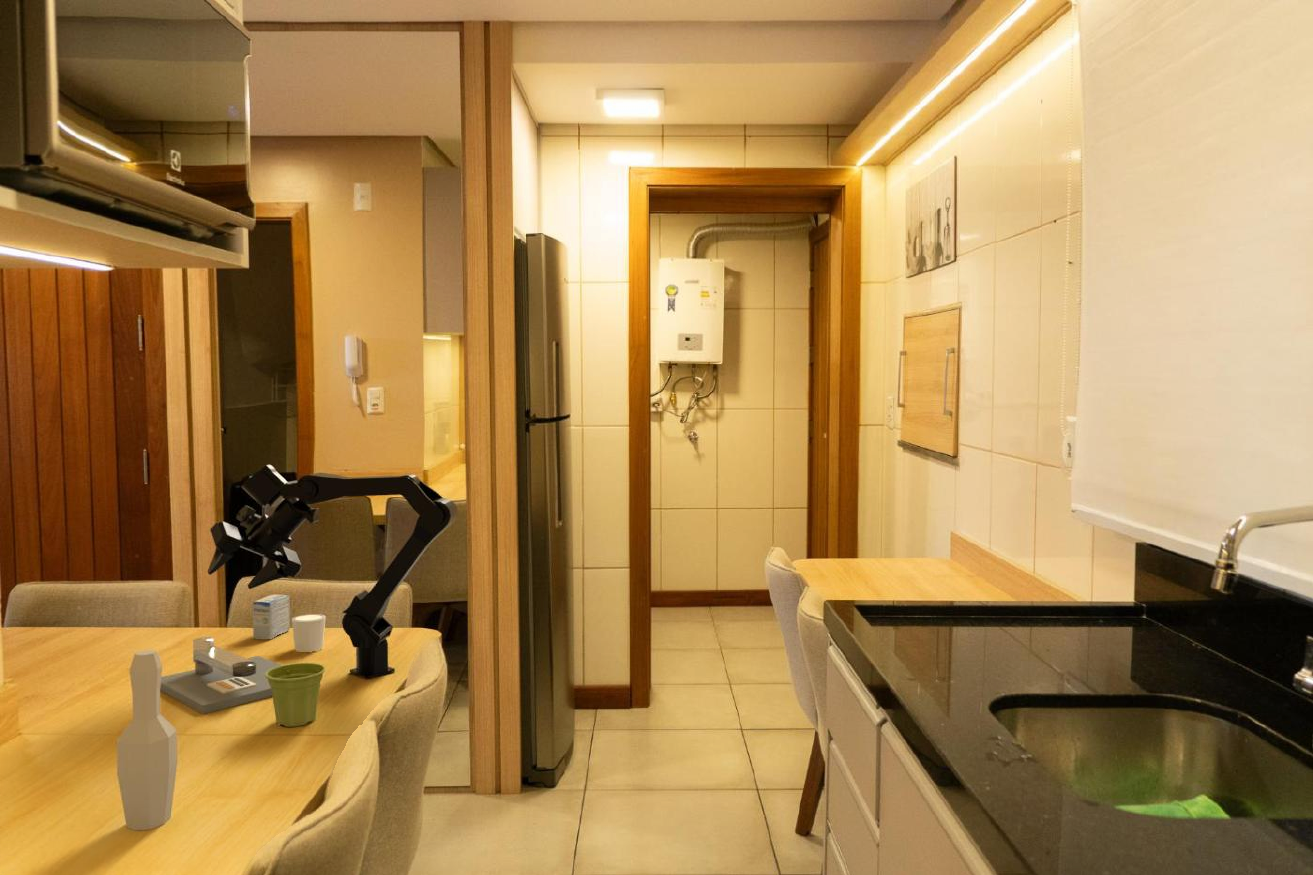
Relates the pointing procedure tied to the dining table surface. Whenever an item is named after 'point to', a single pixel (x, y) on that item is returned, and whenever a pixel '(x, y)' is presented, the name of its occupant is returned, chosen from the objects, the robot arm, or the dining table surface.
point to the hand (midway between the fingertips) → (229, 580)
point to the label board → (218, 686)
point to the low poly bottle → (147, 750)
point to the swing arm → (221, 658)
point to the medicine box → (271, 616)
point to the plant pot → (295, 692)
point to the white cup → (308, 632)
